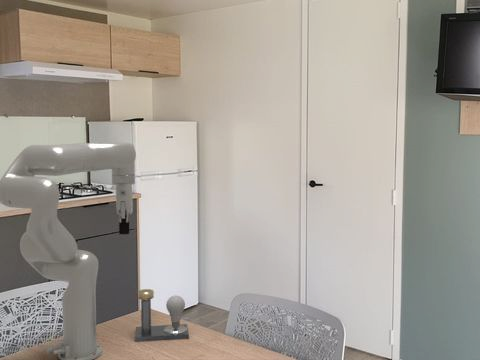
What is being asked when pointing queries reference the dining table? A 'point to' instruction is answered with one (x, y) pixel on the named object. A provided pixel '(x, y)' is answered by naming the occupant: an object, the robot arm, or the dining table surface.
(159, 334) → the metal press stand
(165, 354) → the dining table surface
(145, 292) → the brass knob
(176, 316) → the lightbulb
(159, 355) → the dining table surface
